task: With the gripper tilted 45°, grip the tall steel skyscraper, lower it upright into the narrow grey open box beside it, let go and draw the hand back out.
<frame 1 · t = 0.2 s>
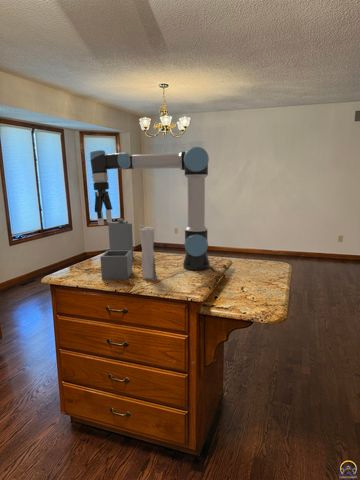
hand: (105, 223, 166), 27 cm above the counter, tool pointing down, fingers open, 13 cm apart
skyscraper: (148, 278, 165), on the counter
grey open box: (117, 275, 169), on the counter
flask: (122, 256, 210), on the counter
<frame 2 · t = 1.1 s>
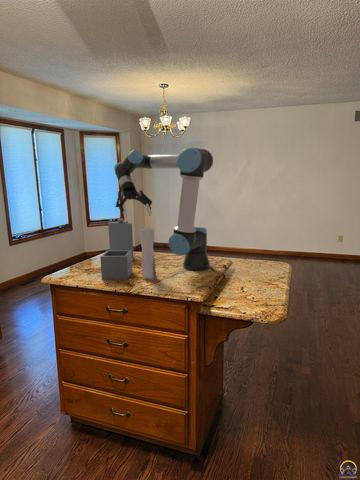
hand: (138, 215, 168), 31 cm above the counter, tool tilted 45°, fingers open, 13 cm apart
nothing on the counter moved.
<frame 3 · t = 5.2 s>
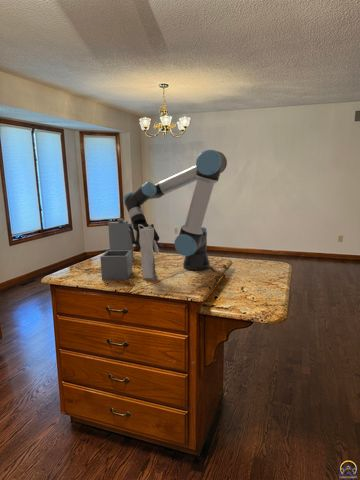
hand: (150, 253, 159), 14 cm above the counter, tool tilted 45°, fingers closed on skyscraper, 7 cm apart
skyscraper: (148, 278, 165), on the counter, touching gripper
everything else where it was.
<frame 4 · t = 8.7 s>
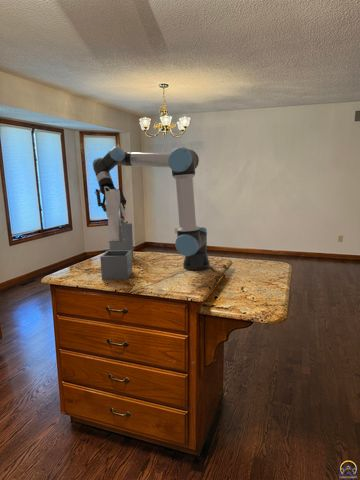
hand: (116, 215, 160), 32 cm above the counter, tool tilted 45°, fingers closed on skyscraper, 7 cm apart
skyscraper: (115, 241, 166), point 18 cm above the counter, touching gripper
everything else where it was.
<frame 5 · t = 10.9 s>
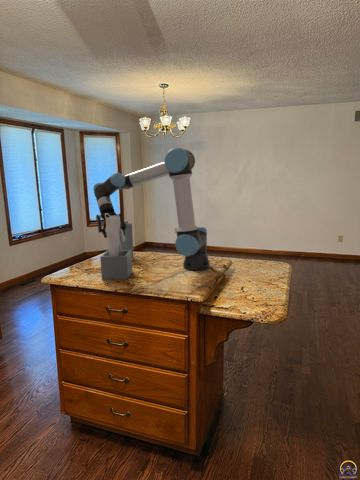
hand: (116, 241, 163), 19 cm above the counter, tool tilted 45°, fingers closed on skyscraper, 7 cm apart
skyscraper: (115, 266, 169), point 5 cm above the counter, touching gripper
everything else where it was.
when the fingers open (15 cm above the counter, at t = 12.2 s): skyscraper drops 1 cm, resting on grey open box.
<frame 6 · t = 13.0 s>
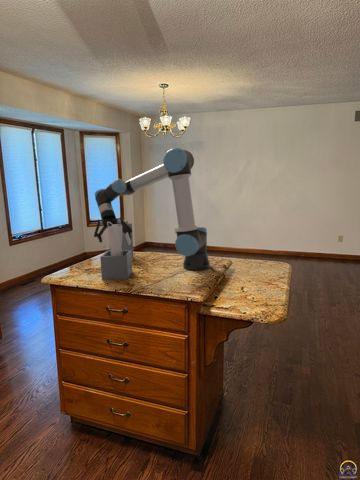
hand: (117, 245, 164), 17 cm above the counter, tool tilted 45°, fingers open, 13 cm apart
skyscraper: (117, 274, 169), resting on grey open box
everything else where it was.
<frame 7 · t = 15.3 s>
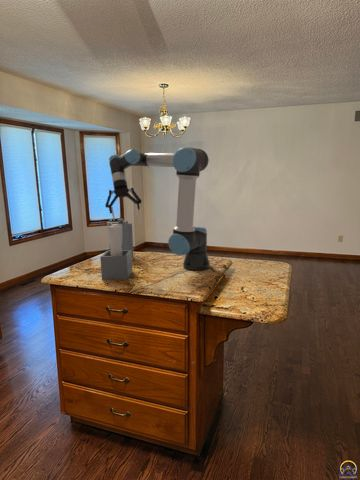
hand: (126, 217, 179), 29 cm above the counter, tool tilted 25°, fingers open, 13 cm apart
nothing on the counter moved.
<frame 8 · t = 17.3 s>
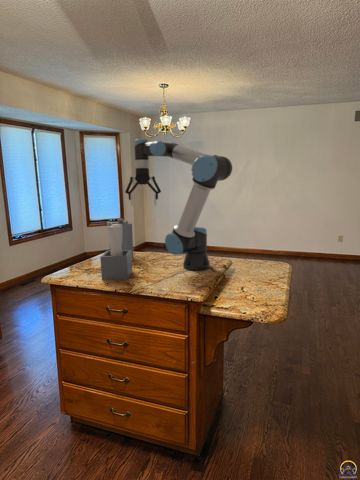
hand: (143, 205, 185), 35 cm above the counter, tool pointing down, fingers open, 13 cm apart
nothing on the counter moved.
at the end: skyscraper 0.1 cm off-centre on the grey open box, point 0.5 cm above the grey open box's base; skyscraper tilted 0°; the gripper is holding nothing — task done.
